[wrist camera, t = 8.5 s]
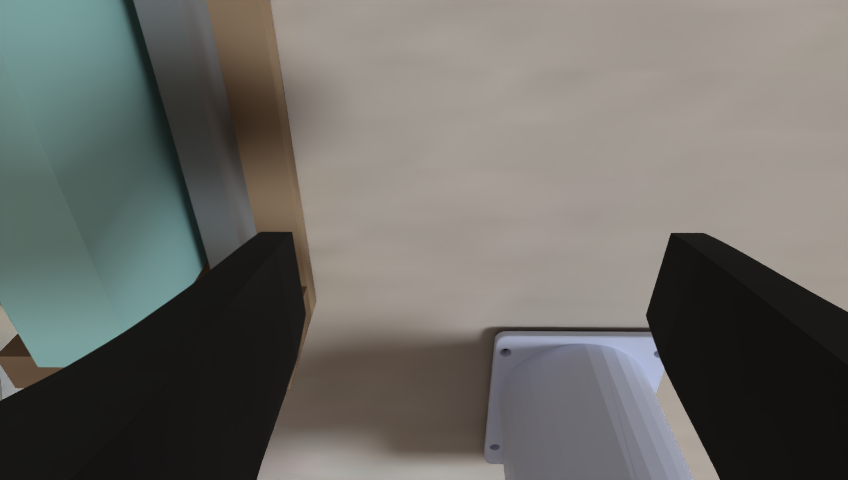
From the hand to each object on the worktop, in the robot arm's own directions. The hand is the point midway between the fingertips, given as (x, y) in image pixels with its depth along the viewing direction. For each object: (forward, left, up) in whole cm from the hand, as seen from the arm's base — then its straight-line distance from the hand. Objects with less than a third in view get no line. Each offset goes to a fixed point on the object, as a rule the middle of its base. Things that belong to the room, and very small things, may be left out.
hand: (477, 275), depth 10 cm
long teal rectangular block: (+1, +11, -8) cm, 14 cm away
